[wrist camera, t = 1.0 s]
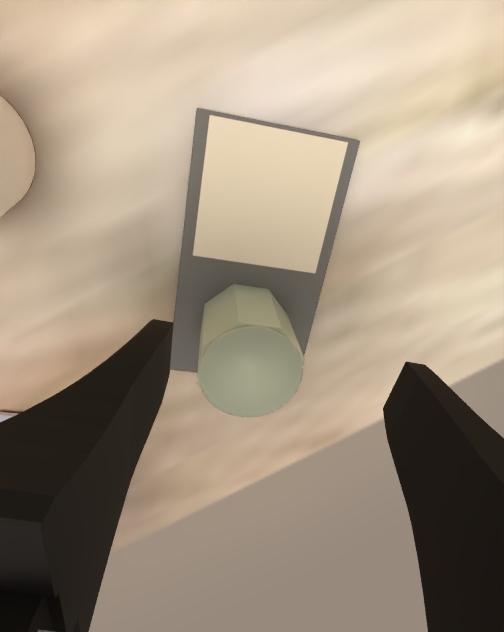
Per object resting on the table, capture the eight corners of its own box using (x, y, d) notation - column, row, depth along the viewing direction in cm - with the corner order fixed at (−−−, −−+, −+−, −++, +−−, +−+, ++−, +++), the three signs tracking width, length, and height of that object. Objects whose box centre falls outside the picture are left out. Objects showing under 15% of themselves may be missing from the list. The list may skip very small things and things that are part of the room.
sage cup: (275, 364, 28) (290, 421, 22) (197, 355, 27) (192, 412, 22) (292, 292, 26) (313, 335, 20) (207, 280, 25) (206, 322, 20)
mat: (295, 378, 29) (297, 384, 28) (169, 365, 28) (168, 371, 27) (357, 140, 23) (361, 140, 22) (197, 108, 21) (196, 107, 21)
